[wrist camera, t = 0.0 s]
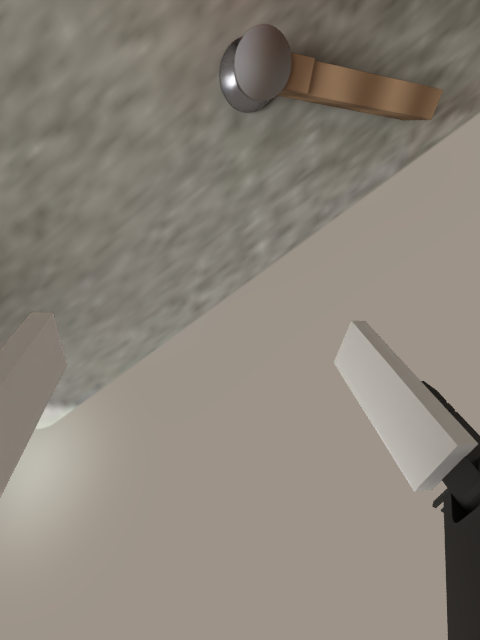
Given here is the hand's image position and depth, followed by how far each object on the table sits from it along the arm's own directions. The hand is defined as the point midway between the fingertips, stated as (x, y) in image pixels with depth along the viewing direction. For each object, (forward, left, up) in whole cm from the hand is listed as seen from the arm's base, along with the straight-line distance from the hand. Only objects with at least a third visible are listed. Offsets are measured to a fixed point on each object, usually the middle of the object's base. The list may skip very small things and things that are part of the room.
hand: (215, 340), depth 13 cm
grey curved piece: (-13, +5, -28) cm, 31 cm away
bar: (-13, +13, -27) cm, 32 cm away
